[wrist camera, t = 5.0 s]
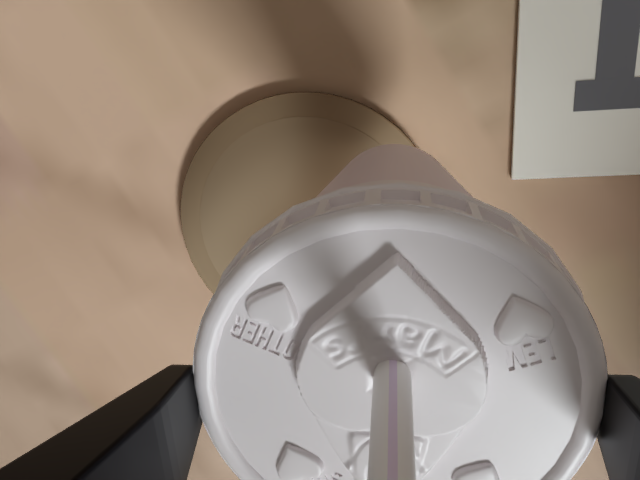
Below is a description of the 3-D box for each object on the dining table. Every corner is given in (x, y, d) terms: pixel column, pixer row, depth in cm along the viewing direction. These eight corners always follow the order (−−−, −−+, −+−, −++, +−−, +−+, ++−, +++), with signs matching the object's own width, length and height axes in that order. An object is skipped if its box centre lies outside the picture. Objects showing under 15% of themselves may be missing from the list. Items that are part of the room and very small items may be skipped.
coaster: (440, 82, 20) (440, 84, 19) (440, 335, 23) (441, 340, 23) (163, 100, 21) (159, 102, 21) (204, 336, 25) (201, 341, 24)
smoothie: (513, 98, 16) (992, 463, 3) (488, 301, 18) (704, 978, 6) (287, 95, 17) (-67, 381, 4) (292, 291, 19) (81, 868, 6)
